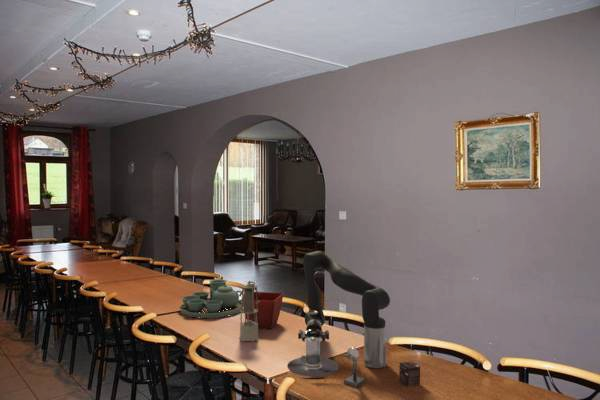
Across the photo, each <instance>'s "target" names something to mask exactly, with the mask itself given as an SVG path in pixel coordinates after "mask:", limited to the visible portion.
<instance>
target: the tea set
mask: <svg viewBox="0 0 600 400" xmlns="http://www.w3.org/2000/svg"><path fill="white" fill-rule="evenodd" d="M208 282H209V292H207V291H196V292H193V293H191V295H185V296H183V297H181V300H182V302H183V304H180V305H179V310H180V314H181V315H182V314H184V315H183V316H185V315H187V316H186V317H188V316H190V317H189V318H192V317H200V318H199V319H203V318H207V319H216V318H215V317H222V318H224V317H223V316H227V317H229V316H228V315H232V316H235V315H237V314H239V313H241V312H240V311H241V310H242V298H241V299H240V295H239V293H240V294H241V295H242V291H241V290H235V289H233V288H234V287H232V286H231V285H227V280H226V279H223V278H222V279H220V278H219V279H218V278H217V279H216V278H215V279H211V280H209V281H208ZM243 298H244V293H243ZM225 308H226V309H228V310H226V309H225ZM230 308H231V309H230ZM206 309H207V310H206ZM202 310H203V311H204V312H205V313H204V312H203V311H202ZM223 310H224V311H223ZM219 311H220V312H219ZM199 312H200V313H199ZM238 312H239V313H238ZM236 313H237V314H236ZM234 314H235V315H234Z"/></svg>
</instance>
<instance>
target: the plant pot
mask: <svg viewBox="0 0 600 400" xmlns="http://www.w3.org/2000/svg"><path fill="white" fill-rule="evenodd" d="M258 292H259V293H260V294H259V293H258ZM258 292H257V299H258V302H259V301H260V302H259V303H258V306H257V304H255V303H256V291H254V309H257V307H258V312H257V323H258V329H264V328H267V329H266V330H268V329H269V330H270V328H271V329H272V328H273V327H274V326H275V325H277V323H278V321H279V317H280V315H281V314H280V313H281V309H282V305H283V300H284V299H283V298H284V293H282V292H268V291H265V292H264V291H258ZM243 299H244V306H245V298H243ZM247 318H248V319H247ZM249 320H252V322H254V321H255V322H256V313H255V320H254V313H252V314H248V317H247V313H246V321H249Z"/></svg>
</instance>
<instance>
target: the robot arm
mask: <svg viewBox="0 0 600 400" xmlns="http://www.w3.org/2000/svg"><path fill="white" fill-rule="evenodd" d="M302 263H303V265H302V266H303V271H304V277H305V278H304V279H305V281H306V288H307V289H306V290H307V307H308V309H310V310H312V311H309V312H306V313H305V315H304V323H305V325H306V327H305V331H304V330H303V329H299V330H298V334H297V339H298V340H300V339H301V341H302V342H304V343H306V339H308V338H310V337H316V338H318V339H320V340H322V341H321V343H324V342H326V340H327V341H328V340H330V331H329V330H327V329H326V330H325V331H323V326H324V325H325V323H326V317H325V314H324V311H323V307H322V306H323V305H322V292H321V289H320V287H319V285H318V283H317V281H316V279H315V271H318V270H324V271H326V272H327V273H329V275H330V279H331V281H332V283H333V284H334V285H336V286H337V287H339V288H340V289H341V290H343V291H345V292H349V293H352V294H354V295H355V294H356V295H359V296H362V297H361V310H362V313H361V314H362V320H363V365H364V366H366V367H368V368H371V369H381V368H386V366H387V344H386V320H385V319H384V318H383V317H380V313H379V312H380V310H385V309H386V308H388V307H389V305H390V303H391V298H390V295H389V293H388V291H386V290H384V288H382V287H380V286H377V285H374V284H372V283H371V282H369V281H367V280H366V279H364V278H362V277H360V276H359V275H357V274H356V273H354V272H352V271H351V270H350V269H348V268H346V267H344V266H342V265H341V264H339V263H338V262H336V261H335V260H333V259H332V258H331V257H330V256H328V255H327V254H326V253H324V252H323V251H320V250H317V251H316V250H315V251H312V252H309V253H308V252H307V253H306V254H304V256H303V259H302ZM314 311H315V312H314Z"/></svg>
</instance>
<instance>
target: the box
mask: <svg viewBox="0 0 600 400" xmlns="http://www.w3.org/2000/svg"><path fill="white" fill-rule="evenodd" d="M398 380H399V381H400V383H402V384H404V386H407V387H411V386H417V385H421V366H420V365H419V364H417V363H416V362H414V361H412V360H410V361H404V362H399V375H398Z"/></svg>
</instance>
